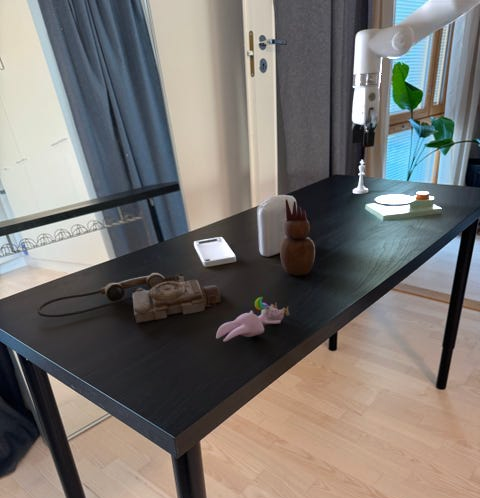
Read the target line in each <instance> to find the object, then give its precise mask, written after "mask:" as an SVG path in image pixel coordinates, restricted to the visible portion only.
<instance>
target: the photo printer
mask: <svg viewBox="0 0 480 498" xmlns="http://www.w3.org/2000/svg"><path fill="white" fill-rule="evenodd" d="M286 199H287V200H288V204H289V207H290V210H291V213H292V212H293V204H294V201H295V203H296V209H297V210H298V204H297V200H296V198H295V197H294V196H293V195H287V194H278V195H275V196H272V197H269V198H267V199H266V200H264V201H263V202H262V203H261V204H259V205H258V207H257V209H256V218H257V219H256V220H257V235H258V236H257V237H258V238H257V239H258V251H259V253H260V255H261V256H263V257H272V256H275V255H278V254H280V247H281V242H282V240H283V239H284V238H285V237H287V236H286V235H285V231H284V225H285V222H286V221H287V218H286Z"/></svg>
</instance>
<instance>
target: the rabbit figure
mask: <svg viewBox="0 0 480 498" xmlns="http://www.w3.org/2000/svg"><path fill="white" fill-rule="evenodd" d="M263 298H264V297H263V296H260V297H258V298H257V299H255V301H254V307H255V309H256V310H259V311H261V313H260V315H256V314H255V313H254V310H250V311H249V312H245V313H242V314H240V315H239V316H237V317H236V318H235V319H234V320H233V321H227V322H225V323H223V324H221V325H220V326H219V328H218V329H217V331H216V335H215V338H216V339H220V338H222V337H223V336H225V338H223V340H222V341H223V342H224V343H225V342H227V341H229V340H231V339H233V338H235V337H237V336H239V335H240V336H242V337H245V338H251V337H255V336H259V335H262V334H263V333H264V332H265V326H267V325H277V324H281V322H282V321H283V320H284V317H285V315H287V316H290V311H289V306H286V308H285V307H283V308H282V309H278V305H277V304H278V303H277V302H275V304H274V303H271V304H270V305H268V304H267V303H266V302H263Z"/></svg>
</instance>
